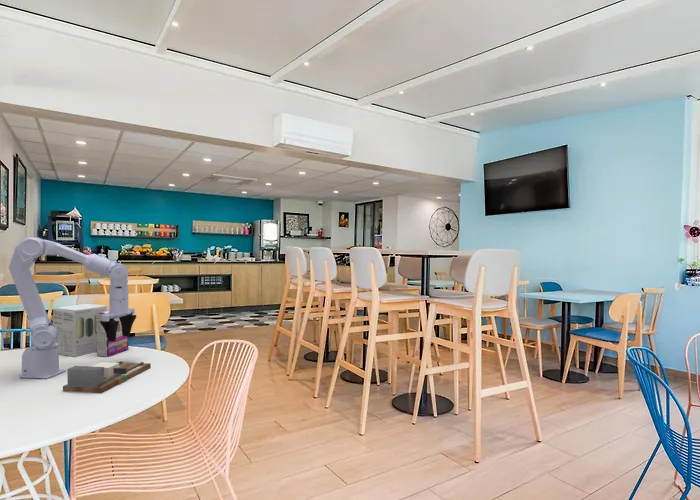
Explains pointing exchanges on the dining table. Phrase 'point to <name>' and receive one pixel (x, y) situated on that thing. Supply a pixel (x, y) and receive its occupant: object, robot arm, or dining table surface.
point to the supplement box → (77, 328)
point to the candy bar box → (109, 347)
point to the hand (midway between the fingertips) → (119, 338)
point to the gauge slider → (111, 369)
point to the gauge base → (113, 378)
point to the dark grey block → (85, 376)
